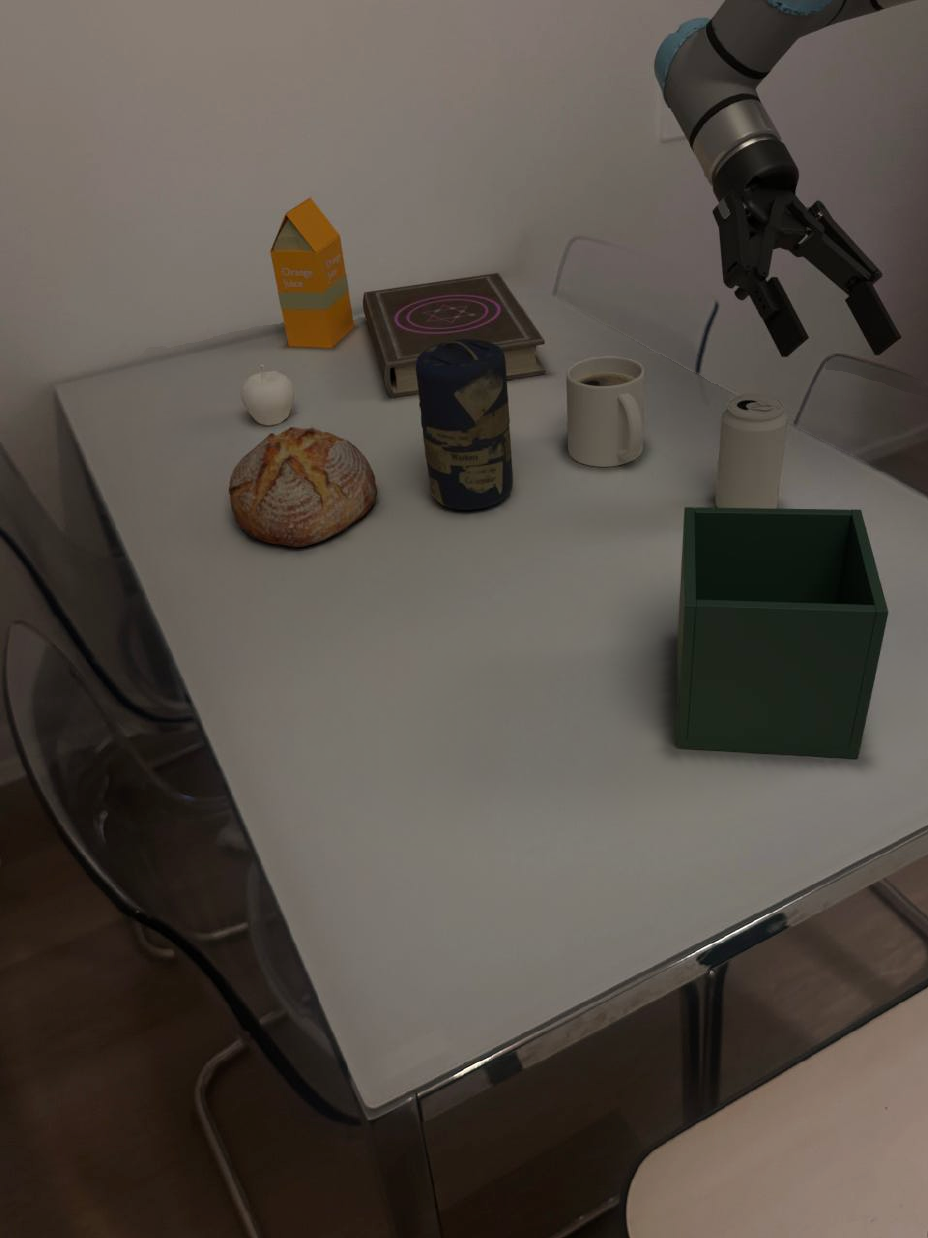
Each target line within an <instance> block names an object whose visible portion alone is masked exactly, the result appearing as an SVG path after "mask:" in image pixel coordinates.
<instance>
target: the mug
mask: <svg viewBox="0 0 928 1238" xmlns="http://www.w3.org/2000/svg"><path fill="white" fill-rule="evenodd" d="M645 373H646V372H645V368H644V366H643V365H642V364H641V363H640V362H639V361H636V360H634V359H631V358H628V357H624V356H618V355H617V356H616V355H603V356H594V357H589V358H585V359H582V360H578V361H576V362H575V363H573V364H571V365H570V366H569V367H568V369H567V370H566V373H565V376H566V377H565V379H566V380H565V381H566V382H565V384H566V420H567V421H566V422H567V425H566V426H567V452H568V454H569V456H570V457H571V458H572V460H574V461H576V462H578V463H580V464H582V465H586V466H590V467H597V468H599V467H600V468H608V467H609V468H610V467H618V466H622V465H625V464H629V463H631V462H633V461H635V460H636V459H638V458H639V457H640V455H642V452H643V450H644V449H643V448H644V413H645V376H646V375H645Z"/></svg>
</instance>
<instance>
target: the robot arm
mask: <svg viewBox="0 0 928 1238" xmlns="http://www.w3.org/2000/svg"><path fill="white" fill-rule="evenodd" d="M914 1H916V0H724V1H723V2H722V4H721V5H720V7H719V8H718V9H717V11H716V12H715V13H714V15H713V17H712V18H708V17H696V18H692V19H688V20H687V21H684V22H683V23H681V24H680V25H679V26H678V29H677V30H676V31H674V32H673V33H668V34H667V35H666V37H665V38H664V39H663V40H662V42H661V43H660V45H659V47H658V49H657V51H656V54H655V56H654V61H653V70H654V76H655V79H656V81H657V83H658V85H659V88H660V90H661V92H662V97H663V98H662V99H663V100H664V103H665V105H666V107H667V108H668V109H670V111H671V113H672V114H673V116H674V118H675V119H676V122H677V124H678V125H679V128H680V129H681V131H682V132H683V134H684V136H685V138H686V140H687V141H688V144H689V148H691V150H692V152H693V154H694V156H695V158H696V159H697V161H698V163H699V166H700V167H701V170H702V172H703V176H704V178H706V179H707V182H708V183H709V185H710V186H711V187H712V192H713V194H714V196H715V198H716V200H717V202H718V203H717V205H716V206H715V207H714V208H713V209H712V215H713V217H714V220H715V222H716V225H717V228H718V235H719V247H720V248H719V249H720V260H721V271H722V282H723V284H724V286H726V288H728V289H734V288H735V287H737V288H736V289H735V290H734V292H733V294H734V297H736V299H738V300H739V301H741V302H743V301H745V300H746V299H747V298H748V297H749V298H750V300H751V301H752V304H753V306H754V307H755V310H756V311H757V313H758V315H759V317H760V318H761V319H762V321H763V324H765V327H766V330H767V331H768V333H769V335H770V337H771V339H772V341H773V343H774V344H775V347H776V349H777V350H778V352H779V354H780V356H781V357H782V358H788V357H789V356H790V355H791V354H793V353H794V352H795V351H796V350H797V349H798V348H800V346H802V345H803V344H804V343H805V342H806V341H808V339H810V337H809V334H808V332H807V331H806V329H805V326H804V325H803V323H802V321H801V319H800V318H799V315H798V314H797V311H796V310H795V307H794V306H793V304H792V302H791V300H790V298H789V296H788V294H787V292H786V290H785V289H784V287H783V285H782V283H781V281H780V279H779V277H778V276H770V278H769V279H768V277H769V275H770V269H771V264H772V258H773V253H774V250H778V249H782V250H785V251H788V252H789V253H790V254H792V256H794V257H796V258H804V259H805V260H806V261H808V262H809V263H810V264H811V265H812V266H814V267H815V268H816V269H817V270H818V271H819V272H820V273H822V274H823V275H824V276H825V277H827V278H828V279H829V280H830V281H831V282H832V283H833V284H834V285H836V287H838V288H839V289H840V290H841V291H842V292H843V293H845V294H846V295H847V297H846V298H845V299H844V301H845V303H846V305H847V307H848V308H849V310H850V312H851V315H852V316H853V318H854V320H855V321H856V323H857V325H858V327H859V329H860V331H861V333H862V335H863V336H864V338H865V340H866V342H867V343H868V346H869V348H870V349H871V351H872V353H873V355H874V356H881V355H882V354H883V353H884V352H885V351H887V350H888V349H889V348H891V347H892V346H893V345H894V344H895V343H897V342H898V341H900V339H902V338H903V337H902V335H901V333H900V332H899V330H898V328H897V326H896V324H895V323H894V321H893V319H892V318H891V315H890V314H889V312H888V310H887V308H886V307H885V304H884V303H883V301H882V300H881V298H880V296H879V294H878V291H876V289H875V287H874V285H875V284H876V283H877V282H878V281H879V280H880V279H882V277H883V272H882V271H881V270H880V269H879V267H878V266H877V265H876V264H875V263H874V262H873V261H872V260H871V258H870V257H868V255H867V254H866V253H865V252H864V251H863V250H862V249H861V247H859V246H858V244H856V242H855V241H854V240H853V239H852V238H851V237H850V236H849V235H848V233H847V232H846V231H845V230H844V229H843V228H842V226H840V225H839V223H838V222H837V221H836V220H835V219H834V218H833V217H832V215H831V213H830V212H829V210H828V208H827V207H826V206H825V204H824V203H823V202H822V201H821V200H818V199H817V200H815V202H813V203H812V205H811V206H809V207H806V205H805V204H804V203H803V202H802V201H801V200H800V199H799V197H798V196H797V195H796V194H797V186H798V183H799V179H800V170H799V168H798V166H797V164H796V162H795V161H794V159H793V157H792V155H791V153H790V151H789V150H788V148H787V146H786V144H785V143H784V142H783V141H782V136H781V134H780V132H779V131H778V129H777V127H776V126H775V124H774V122H773V120H772V119H771V117H770V114H768V112H767V110H766V108H765V107H764V104H763V103H762V101H761V99H760V97H759V94H758V92H757V88H758V86H759V85H760V84H761V83H762V81H763V80H764V79H765V78H766V77H767V76H768V75H769V74H770V73H771V72H772V70H773V68H775V66H776V65H777V64H778V63H779V61H780V60H781V59H782V58H783V57H784V56H785V54H786V53H787V52H789V50H790V49H791V48H792V46H794V44H795V43H796V42H797V41H798V40H799V39H800V38H803V37H805V36H808V35H810V34H812V33H815V32H818V31H820V30H823V29H824V28H827V27H830V26H833V25H836V24H840V23H842V22H846V21H850V20H853V19H856V18H860V17H863V16H868V15H871V14H874V13H878V12H880V11H883V10H886V9H889V8H892V7H893V8H894V7H896V6H900V5H903V4H907V3H911V2H914ZM806 236H807V237H806ZM767 279H768V280H767Z"/></svg>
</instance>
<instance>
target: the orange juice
mask: <svg viewBox="0 0 928 1238" xmlns="http://www.w3.org/2000/svg"><path fill="white" fill-rule="evenodd" d="M269 253H270V254H269V255H270V258H271V264H272V268H273V273H274V277H275V283H276V289H277V295H278V300H279V306H280V310H281V314H282V318H283V323H284V329H285V334H286V339H287V344H288V347H290V348H291V347H295V348H318V349H334V347H336V345H338V343H340V342H341V341H342V340H343V339H344V338H345V337H346V336H347V335H348V334H349V333H350V332H351V331H352V330H353V329H354V328H355V323H354V322H355V321H354V317H353V309H352V305H351V298H350V297H351V296H350V289H349V282H348V276H347V272H346V267H345V259H344V252H343V245H342V240H341V234H340V233H339V232H338V231H337V230H336V228H335V227H334V226H333V224H332V223H331V222H330V220H328V218H327V216H326V215H325V214H324V212H323V211H322V210H321V209H320V207H319V206H318V205H317V204H316V202H315V201H314V200H313V199H312V196H310V197H308V198H306V199H305V200H304V201H302V202H300V203H299V204H297V205H295V206H294V207H293V208H291V209H289V210H288V211H286V212H285V214H284V217H283V218H282V221H281V224H280V226H279V228H278V232H277V234H276V236H275V239H274V241H273V244H272V246H271V248H270V250H269Z"/></svg>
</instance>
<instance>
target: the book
mask: <svg viewBox="0 0 928 1238" xmlns="http://www.w3.org/2000/svg"><path fill="white" fill-rule="evenodd" d="M362 297H363V298H362V309H363V313H364V317H365V320H366V323H367V327H368V330H369V335H370V337H371V341H372V344H373V348H374V351H375V354H376V357H377V361H378V364H379V367H380V371H381V374H382V377H383V382H384V384H385V388H386V391H387V393H388V395H389V397H390V398H391V399H395V398H399V397H405V396H413V395H419V392H418V383H417V376H416V361H417V358H418V356H419V355H420V354H421V353H422V352H423V351H424V350H426V349H427V348H429V347H431V346H433V345H436V344H439V343H442V342H447V341H452V340H459V339H475V340H483V341H488V342H491V343H493V344H495V345H497V346H499V347H500V348H501V350H502V351H503V353H504V356H505V361H506V373H507V381H508V380H509V381H510V380H515V379H521V378H527V377H535V376H543V375H546V373H547V370H546V368H545V367H544V365H543V364H542V362H541V361H540V358H539V357H538V355H537V354H536V352H537V351H536V350H537V346H541V345H545V343H546V341H545V339H544V337H543V335H542V334H541V333H540V331H539V330H538V328H537V327H536V325H535V324H534V323H533V322H532V320H531V318H530V317H529V316H528V314H527V312H526V311H525V310H524V308H523V306H522V305H521V303H520V302H519V301H518V299H517V298H516V296H515V295H514V293H513V292H512V291H511V289H510V287H509V286H508V285H507V283H506V282H505V280H504V279H503V277H502V276H501V274H500V273H499V272H494V273H488V274H480V275H473V276H468V277H467V276H466V277H460V278H453V279H447V280H440V281H433V282H426V283H420V284H419V283H418V284H412V285H405V286H399V287H391V288H384V289H378V290H371V291H364V292H363V296H362Z"/></svg>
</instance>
